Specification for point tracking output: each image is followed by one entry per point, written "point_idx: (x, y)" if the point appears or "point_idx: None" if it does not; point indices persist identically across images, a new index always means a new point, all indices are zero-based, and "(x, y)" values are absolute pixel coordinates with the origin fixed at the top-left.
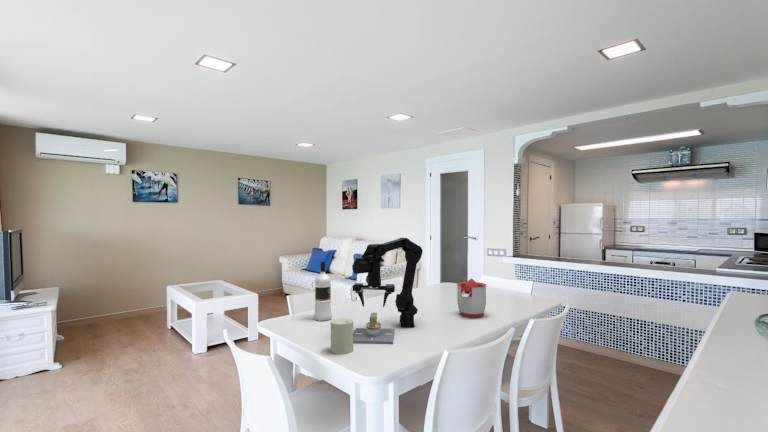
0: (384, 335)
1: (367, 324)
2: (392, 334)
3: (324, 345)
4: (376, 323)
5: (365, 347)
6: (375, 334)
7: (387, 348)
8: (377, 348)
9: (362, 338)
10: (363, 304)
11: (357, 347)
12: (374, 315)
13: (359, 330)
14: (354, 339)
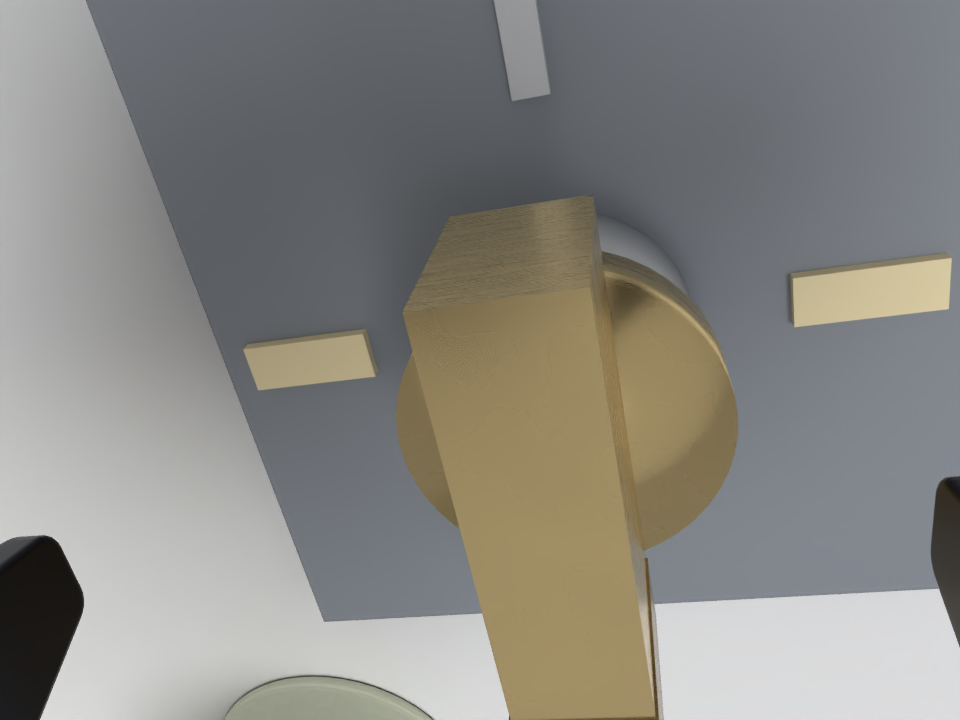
0: (790, 339)
1: (446, 495)
2: (956, 257)
3: (96, 680)
4: (626, 395)
5: None
6: None
7: (867, 693)
8: (732, 702)
9: (451, 525)
10: (42, 702)
11: (478, 697)
12: (588, 593)
13: (230, 151)
14: (356, 573)
